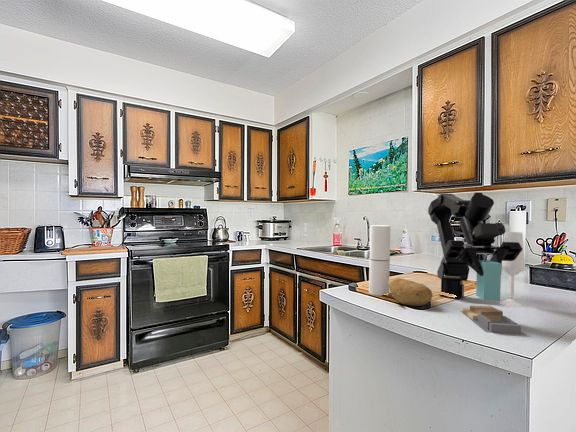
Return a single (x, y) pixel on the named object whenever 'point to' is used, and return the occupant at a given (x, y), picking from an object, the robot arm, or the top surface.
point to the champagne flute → (513, 266)
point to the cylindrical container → (379, 259)
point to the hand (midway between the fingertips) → (490, 275)
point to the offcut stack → (483, 312)
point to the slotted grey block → (497, 325)
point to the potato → (410, 292)
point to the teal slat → (489, 281)
